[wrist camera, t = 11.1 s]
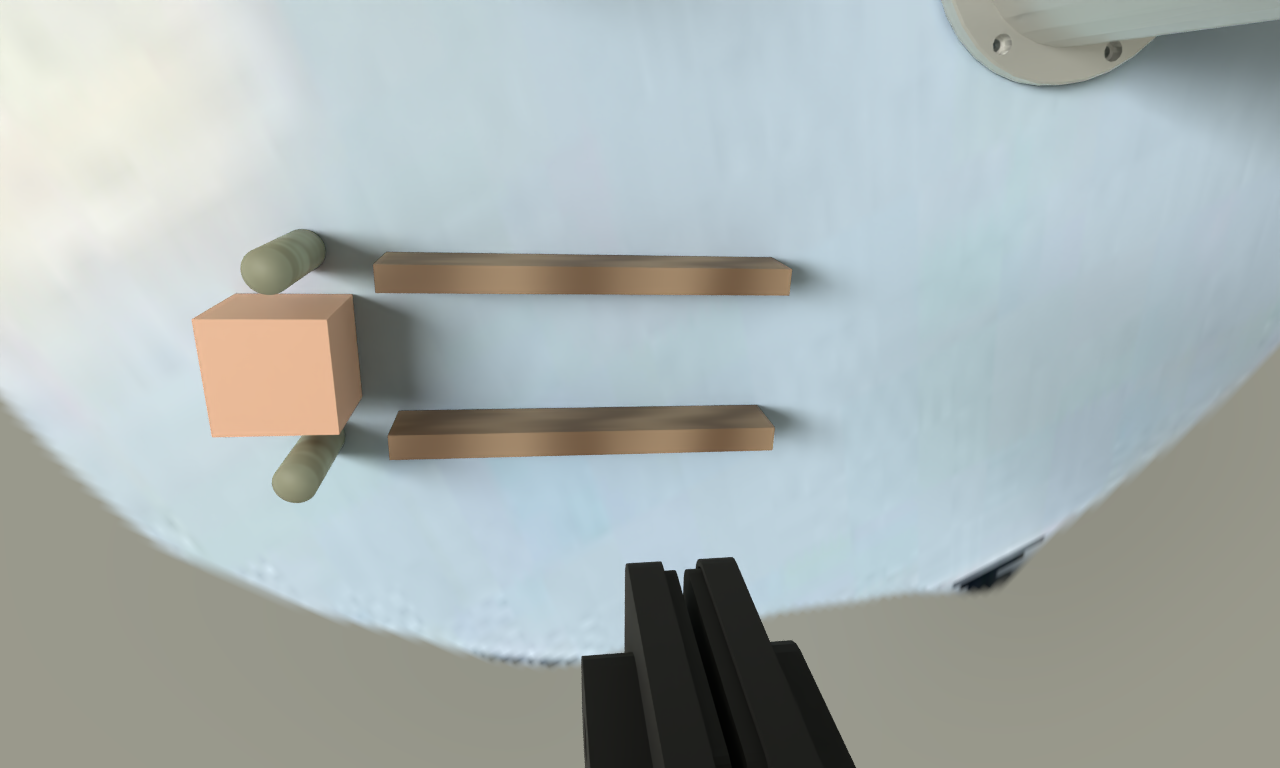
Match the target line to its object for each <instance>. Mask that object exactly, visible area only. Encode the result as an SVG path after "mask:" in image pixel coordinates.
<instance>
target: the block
mask: <svg viewBox="0 0 1280 768" xmlns="http://www.w3.org/2000/svg"><path fill="white" fill-rule="evenodd" d="M192 325H193V330H194V336H195V342H196V348H197V353H198V359H199V365H200V371H201V377H202V382H203V388H204V394H205V400H206V405H207V411H208V417H209V423H210V428H211V434H212V437H249V436H297V435H339V434H340V433H341V431H342V430H343V428H344V426H345V425H346V423H347V421H348V420H349V418H350V416H351V415H352V413H353V411H354V410H355V408H356V406H357V405H358V403H359V401H360V400H361V398H362V389H361V378H360V368H359V357H358V347H357V337H356V326H355V316H354V306H353V295H352V294H274V295H264V294H234V295H232V296H230V297H229V298H227V299H225V300H224V301H222V302H220V303H218V304H217V305H215V306H213V307H212V308H210V309H208V310H207V311H205V312H203V313H202V314H200V315H198V316H196V317H195V318H193V319H192Z"/></svg>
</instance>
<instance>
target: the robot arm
mask: <svg viewBox="0 0 1280 768" xmlns="http://www.w3.org/2000/svg"><path fill="white" fill-rule="evenodd" d="M941 1H942V4H943V7H944V11H945V14H946V17H947V19H948V20H949V22H950V24H951V26H952V28H953V30H954V32H955V33H956V35H957V37H958V39H959V40H960V42H961V43H962V44H963V45H964V46H965V47H966V49H967V50H968V51H969V52H970V53H971V55H972V56H973V57H974V58H975V59H976V60H978V61H979V62H980V63H982V64H983V65H984V66H986V67H987V68H988V69H990V70H991V71H992V72H994V73H996V74H998V75H1000V76H1003V77H1005V78H1007V79H1010V80H1012V81H1014V82H1019V83H1025V84H1031V85H1037V86H1041V85H1064V84H1070V83H1076V82H1082V81H1086V80H1089V79H1092V78H1094V77H1097V76H1099V75H1102V74H1105V73H1107V72H1110V71H1111V70H1113V69H1115V68H1116V67H1118V66H1120V65H1121V64H1123V63H1125V62H1126V61H1128V60H1129V59H1131V58H1133V57H1134V56H1135V55H1136V54H1137V53H1139V52H1140V51H1141V50H1142V49H1143V48H1144V47H1146V46H1147V45H1148V44H1149V43H1150V42H1151V41H1153V40H1154V39H1155V38H1156V37H1157V36H1160V35H1168V34H1175V33H1183V32H1190V31H1198V30H1205V29H1213V28H1221V27H1228V26H1236V25H1243V24H1251V23H1258V22H1266V21H1274V20H1280V0H941ZM993 43H995V47H994V50H993ZM581 669H582V713H583V738H584V757H585V768H856V767H855V765H854V762H853V760H852V758H851V756H850V754H849V753H848V750H847V748H846V746H845V744H844V741H843V739H842V737H841V735H840V733H839V731H838V729H837V727H836V725H835V722H834V720H833V718H832V716H831V714H830V712H829V710H828V708H827V706H826V703H825V701H824V699H823V697H822V695H821V693H820V691H819V689H818V687H817V685H816V682H815V680H814V678H813V676H812V674H811V672H810V670H809V668H808V666H807V663H806V661H805V659H804V657H803V655H802V653H801V651H800V649H799V648H798V646H797V644H796V643H795V642H793V641H791V640H790V641H776V642H770V641H769V638H768V636H767V634H766V631H765V629H764V626H763V624H762V622H761V619H760V617H759V615H758V612H757V610H756V608H755V605H754V603H753V601H752V598H751V596H750V594H749V591H748V589H747V586H746V584H745V582H744V579H743V577H742V575H741V572H740V570H739V568H738V565H737V563H736V561H735V559H734V558H733V557H726V558H709V559H698V560H697V563H696V569H686V570H685V573H684V586H683V593H682V590H681V586H680V583H679V579H678V576H677V573H676V571H675V570H669V571H664V568H663V565H662V562H661V561H660V562H643V563H627V564H626V567H625V653H617V654H603V655H590V656H582V659H581Z"/></svg>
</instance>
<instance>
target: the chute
mask: <svg viewBox="0 0 1280 768" xmlns="http://www.w3.org/2000/svg"><path fill="white" fill-rule="evenodd" d="M325 254H326V250H325V246H324V243H323V241H322V240H321V238H320V237H319V236H318V235H317V234H315V233H314V232H312V231H309V230H305V229H298V230H294V231H292V232H290V233H287V234H285V235H283V236H281V237H279V238H277V239H275V240H273V241H271V242H268V243H266V244H264V245H262V246H260V247H258V248H256V249H254V250H252V251H250V252H248V253H247V254H246V255H245V256H244V258H243V260H242V262H241V275H242V277H243V279H244V281H245V283H246V284H247V285H248V286H249V287H250V288H251V289H253V290H254V291H256V292H258V293H261V294H264V295H274V294H278V293H280V292H282V291H284V290H285V289H286V288H288V287H289V286H291V285H292V284H294V283H295V282H297V281H298V280H299V279H301V278H302V277H304V276H305V275H307V274H308V273H309V272H311V271H312V270H314V269H315V268H317V267H318V266H319V265H321V263H322V262H323V261H324V258H325ZM373 270H374V282H375V293H462V294H624V295H787V296H789V293H790V284H791V275H792V269H791V268H789V267H787V266H786V265H784V264H782V263H780V262H779V261H777V260H775V259H773V258H772V257H711V256H639V255H567V254H496V253H424V252H386V253H385V254H384V255H383V256H381V257H380V258H379V259H378V260H377V261H376V262H375V263H374V264H373ZM774 431H775V427H774V426H773V425H772V423H771V422H770V421H769V420H768V418H767V417H766V416H765V415H764V413H763V412H762V411H761V409H760V408H759V407H758V406H757V405H721V406H660V407H599V408H537V409H476V410H414V411H399V412H398V414H397V416H396V418H395V420H394V423H393V425H392V427H391V429H390V432H389V434H388V446H389V458H390V460H409V459H449V458H488V457H527V456H566V455H605V454H644V453H683V452H722V451H761V450H772V449H773V440H774ZM344 442H345V432H344V430H342V431H341V433H340V434H339V435H302V436H301V438H300V439H299V440H298V442H297V443H296V445H295V446H294V447H293V449H292V450H291V452H290V453H289V454H288V456H287V457H286V458H285V460H284V461H283V463H282V464H281V465H280V467H279V468H278V470H277V471H276V472H275V474H274V476H273V478H272V486H273V489H274V491H275V493H276V494H277V495H278V496H279V497H280V498H282V499H283V500H285V501H288V502H292V503H301V502H305V501H307V500H309V499H311V498H312V497H313V496H314V495H315V493H316V491H317V490H318V488H319V486H320V484H321V483H322V481H323V479H324V477H325V476H326V474H327V472H328V470H329V469H330V467H331V465H332V463H333V462H334V460H335V458H336V456H337V455H338V453H339V451H340V449H341V448H342V446H343V444H344Z"/></svg>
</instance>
